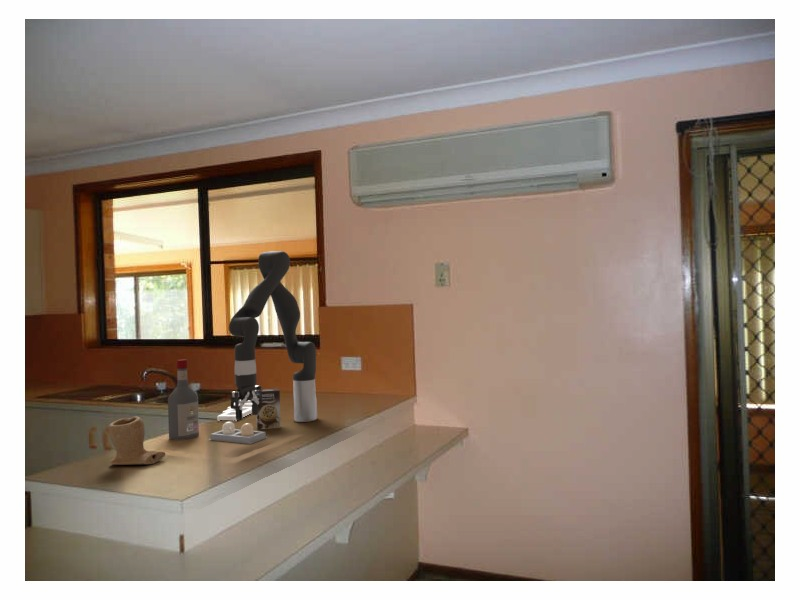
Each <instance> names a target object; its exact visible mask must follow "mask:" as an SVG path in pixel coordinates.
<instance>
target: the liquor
mask: <svg viewBox="0 0 800 600" xmlns="http://www.w3.org/2000/svg"><path fill="white" fill-rule="evenodd" d="M176 369H177V371H176V372H177V373H176V374H177V375H176V376H177V382H176V387H175V388H174V389H173V390H172V392H171V393H170V394H169V395H168V398H167V413H168V414H167V415H168V417H167V418H168V440H176V441H185V440H189V439H194V438H197V437H199V435H200V425H199V422H200V421H199V396H198V393H197V392H196V391H195V390H194V389H193V388H192V387H191V386H190V385H189V382H188V381H189V380H188V359H176Z"/></svg>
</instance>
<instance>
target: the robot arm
mask: <svg viewBox="0 0 800 600" xmlns="http://www.w3.org/2000/svg"><path fill="white" fill-rule="evenodd" d="M290 259H291V258H290V256H289V254H288V253H287V252H285V251H284V250H283V251H282V250H274V251H263V252H261V253H260V254H259V256H258V260H257V261H258V268H259V272H260V273H261V276H262V279H263V280H262V281H261V282H259V283H258V284H257V285H256V286H254V288H253V289H251V291H250V292H249V294H248V295H247V298H246V300H245V302H244V304H243V305H242V307H240V308H239V309H238V311H237V312H236V313H235V314H234V315H233V316H232V317H231V319H230V320H229V324H228V330H229V333H230V335H232V336H233V337H243V338H244V339H243V341H242V342H241V343H237V344H235V346H234V385H235V387H236V389H237V390H236V391H231V392H230V406H231V409H235V411H236V419H237V420H239V421H242V420H243V419H244V418H242V410H241V409H242V407H243V405H244V404H245V402H246V401H248V400H250V401H251V403H252V404H253V405H252V414H251V415H253V416H257V415H258V404H259V402H261V401H262V392H261V390H262V386H261V385H257V384H258V379H257V378H258V377H257V363H256V344H257V339H258V336H259V331H260V324H259V323H258V322H259V321H258V320H257V318H258V317H259V316H261V314H262V313H263V310H264V309H265V307H266V305H267V302H268V301H269V298H270V297H271V300H272V303H273V306H274V311H275V313H276V316H277V319H278V321H279V325H280V327H281V328H280V329H281V331H282V335H283V338H284V342H285V343H284V344H285V348H286V351H287V355H288V358H289V360H290V362H291V363H293V364H303V365H302V366H303V367H302V369H300V370H298V371H296V372H294V373H293V374H292V383H293V384H292V386H293V387H292V388H293V418H294V421H295V422H297V423H305V422H307V423H308V422H314V421H316V420H317V419H318V403H317V400H318V399H317V396H316V392H317V391H316V372H317V349H316V345H315V343H314V342H312V341H299V340H298V337H297V333H296V332H297V331H296V330H297V327H298V325H299V322H300V319H301V311H300V308H299V304H298V301H297V299H296V297H295V295H293V294H292V292H290V291H289V290H288V288H287V287H285V285H284V284H283V283H282V282H281V281H282V279H283V278H284V277H285V275H286V274H287V273H288V271H289V269H290V266H291V260H290ZM258 396H259V398H258ZM240 400H241V401H240ZM234 403H235V405H234ZM239 404H240V405H239Z"/></svg>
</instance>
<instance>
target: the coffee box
mask: <svg viewBox="0 0 800 600" xmlns="http://www.w3.org/2000/svg"><path fill="white" fill-rule="evenodd" d="M280 391H281V390H280V388H265V389H262V388H261V392H262V401H261V402H259V404H258V415H256V431H259V430H268V429H270V430H271V429H279V428H281V394H280V393H281V392H280ZM258 398H259V396H258Z"/></svg>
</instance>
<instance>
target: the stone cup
mask: <svg viewBox="0 0 800 600" xmlns="http://www.w3.org/2000/svg"><path fill="white" fill-rule="evenodd" d="M107 432H108V435H109V438H110V441H111V443H112V445H113V447H114V449H115V452H116V455H115V456H114V457H113V458H112V459H110V461H109V463H110V464H111V465H115V466H116V465H117V466H118V465H119V466H127V465H128V466H130V465H131V466H133V465H136V466H137V465H142V466H143V465H153V464H156V463H158V462H160V461H161V460H162V459H163V458H164V457H165V456H166V452H165V451H156V450H155V451H151V450H150V451H149V450H146V449H145V448H144V440H145V433H146V431H145V423H144V421H143V419H142V417H139V416H136V415H135V416H132V417H130V418H129V417H124V418H120V419H117V420H115V421H113V422H111V423H109V425H108V428H107Z"/></svg>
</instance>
